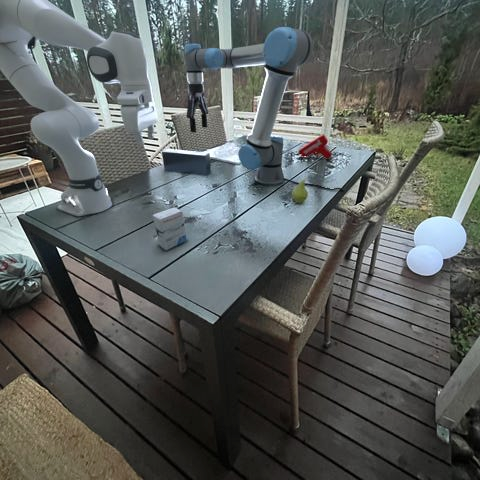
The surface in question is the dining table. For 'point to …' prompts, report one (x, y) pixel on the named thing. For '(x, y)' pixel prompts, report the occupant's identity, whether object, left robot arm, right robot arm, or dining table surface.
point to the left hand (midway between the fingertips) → (146, 141)
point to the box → (186, 161)
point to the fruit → (300, 192)
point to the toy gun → (316, 148)
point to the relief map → (225, 153)
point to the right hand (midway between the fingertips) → (199, 129)
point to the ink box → (170, 228)
